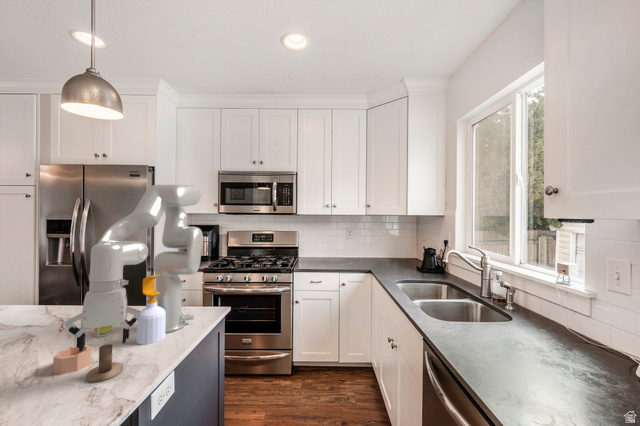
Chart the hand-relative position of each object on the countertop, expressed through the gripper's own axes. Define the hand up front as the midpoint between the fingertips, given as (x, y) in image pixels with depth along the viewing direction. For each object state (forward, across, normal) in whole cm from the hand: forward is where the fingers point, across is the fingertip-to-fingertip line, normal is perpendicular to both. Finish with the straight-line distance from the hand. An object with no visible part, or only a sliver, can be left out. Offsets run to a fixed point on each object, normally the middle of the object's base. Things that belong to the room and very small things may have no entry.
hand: (103, 345), depth 77 cm
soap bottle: (+9, -12, -20) cm, 25 cm away
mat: (+9, 0, -1) cm, 9 cm away
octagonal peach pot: (+9, +8, -11) cm, 17 cm away
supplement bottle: (+9, +4, -35) cm, 36 cm away
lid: (+9, 0, -1) cm, 9 cm away
